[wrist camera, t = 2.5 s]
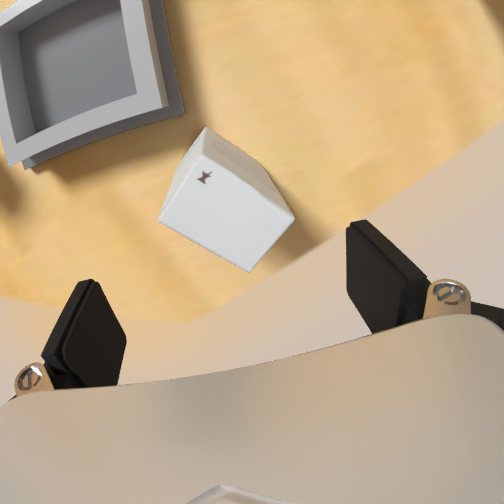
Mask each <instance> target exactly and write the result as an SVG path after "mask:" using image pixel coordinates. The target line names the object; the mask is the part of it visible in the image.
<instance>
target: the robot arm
mask: <svg viewBox="0 0 504 504" xmlns="http://www.w3.org/2000/svg"><path fill="white" fill-rule="evenodd" d="M346 261H347V262H346V263H347V286H346V287H347V293H348V295H349V297H350V299H351V300H352V302H353V303H354V305H355V307H356V308H357V309H358V311H359V313H360V314H361V316H362V318H363V319H364V321H365V323H366V324H367V326H368V327H369V329H370V331H371V332H372V334H371V335H367V336H364V337H361V338H358V339H355V340H351V341H348V342H344V343H341V344H337V345H334V346H330V347H326V348H323V349H319V350H315V351H311V352H307V353H303V354H299V355H296V356H291V357H287V358H283V359H279V360H274V361H270V362H265V363H261V364H256V365H251V366H246V367H242V368H237V369H231V370H226V371H221V372H215V373H209V374H203V375H197V376H190V377H184V378H177V379H170V380H162V381H154V382H146V383H136V384H126V385H117V384H118V379H119V374H120V369H121V365H122V360H123V355H124V351H125V347H126V342H127V341H126V335H125V333H124V331H123V329H122V327H121V326H120V324H119V322H118V320H117V318H116V316H115V314H114V312H113V310H112V308H111V306H110V304H109V302H108V300H107V298H106V296H105V294H104V292H103V290H102V288H101V286H100V284H99V283H98V282H95V281H94V280H93V279H88V280H84V281H80V282H78V283H77V285H76V287H75V289H74V290H73V292H72V294H71V296H70V298H69V299H68V301H67V303H66V305H65V307H64V309H63V311H62V313H61V315H60V317H59V319H58V321H57V323H56V325H55V327H54V329H53V331H52V333H51V335H50V337H49V339H48V341H47V343H46V345H45V347H44V350H43V352H42V354H41V357H42V358H43V359H44V361H45V363H44V365H43V364H41V363H32V364H30V365H28V366H26V367H25V368H24V369H22V370H21V371H20V373H19V374H18V375H17V377H16V379H15V384H14V386H15V391H16V395H15V396H14V397H13V398H12V399H10V400H9V401H8V402H6V403H5V404H3V405H2V406H1V407H0V504H504V309H502V308H498V307H493V306H489V305H485V304H480V303H475V302H471V296H470V293H469V291H468V289H467V288H466V287H465V286H464V285H463V284H461V283H459V282H457V281H454V280H450V279H441V280H437V281H435V282H433V283H431V282H430V281H429V280H428V279H427V276H426V275H425V274H424V273H423V272H422V271H421V270H420V269H419V268H418V267H417V266H416V265H415V264H414V263H413V262H412V261H411V260H410V259H409V258H408V257H407V256H406V255H404V254H403V253H402V252H401V251H400V250H399V249H398V248H397V247H396V246H395V245H394V244H393V243H392V242H391V241H390V240H388V239H387V238H386V237H385V236H384V235H383V234H382V233H381V232H380V231H378V230H377V229H376V228H375V227H374V226H373V225H372V224H371V223H369V222H368V221H367V220H360V221H355V222H351V223H350V227H347V228H346Z"/></svg>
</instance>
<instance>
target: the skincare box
mask: <svg viewBox="0 0 504 504" xmlns="http://www.w3.org/2000/svg"><path fill="white" fill-rule="evenodd" d="M158 221H159V222H160V223H162V224H164V225H165V226H167V227H169V228H170V229H172V230H174V231H176V232H177V233H179V234H181V235H183V236H184V237H186V238H188V239H190V240H191V241H193V242H195V243H197V244H198V245H200V246H202V247H204V248H206V249H207V250H209V251H211V252H213V253H215V254H217V255H218V256H220V257H222V258H224V259H226V260H227V261H229V262H231V263H233V264H234V265H236V266H238V267H240V268H241V269H243V270H245V271H246V272H248V273H249V272H251V271H252V269H253V268H254V267H255V266H256V265H257V263H258V262H259V261H260V260H261V259H262V258H263V257H264V256H265V254H266V253H267V252H268V251H269V250H270V249H271V248H272V246H273V245H274V244H275V243H276V242H277V241H278V240H279V238H280V237H281V236H282V235H283V234H284V233H285V231H286V230H287V229H288V228H289V227H290V226H291V225H292V223H293V222H294V221H295V217H294V216H293V214H292V212H291V211H290V209H289V208H288V206H287V204H286V202H285V201H284V199H283V198H282V196H281V194H280V193H279V191H278V190H277V188H276V187H275V185H274V183H273V182H272V180H271V179H270V177H269V176H268V174H267V173H266V171H265V169H264V168H263V166H262V165H261V163H259V162H258V161H256V160H255V159H254V158H252V157H251V156H249V155H248V154H247V153H245V152H244V151H242V150H241V149H239V148H238V147H237V146H235V145H234V144H232V143H231V142H229V141H228V140H226V139H225V138H223V137H222V136H220V135H219V134H217V133H216V132H214V131H213V130H211V129H210V128H208V127H207V126H206V127H205V128H204V129H203V130H202V132H201V133H200V134H199V136H198V137H197V138H196V140H195V141H194V143H193V144H192V145H191V147H190V148H189V150H188V151H187V153H186V154H185V156H184V157H183V159H182V160H181V162H180V163H179V165H178V168H177V170H176V172H175V175H174V178H173V180H172V183H171V185H170V188H169V190H168V193H167V196H166V198H165V201H164V204H163V207H162V209H161V212H160V214H159V218H158Z"/></svg>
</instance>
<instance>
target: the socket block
mask: <svg viewBox="0 0 504 504" xmlns="http://www.w3.org/2000/svg"><path fill="white" fill-rule="evenodd" d="M184 114H185V111H184V106H183V101H182V97H181V92H180V87H179V82H178V77H177V72H176V67H175V62H174V57H173V52H172V47H171V42H170V37H169V31H168V26H167V21H166V15H165V9H164V4H163V0H18V1H17V2H15V3H14V4H12V5H11V6H9V7H8V8H6V9H5V10H3V11H2V12H0V136H1V140H2V144H3V148H4V152H5V155H6V159H7V162H8V166H9V167H10V166H12V165H14V164H16V163H18V162H20V161H22V163H23V167H24V170H26V169H29V168H31V167H33V166H35V165H37V164H40V163H42V162H44V161H46V160H49V159H51V158H53V157H56V156H58V155H60V154H63V153H65V152H68V151H70V150H73V149H75V148H78V147H81V146H83V145H86V144H89V143H91V142H94V141H97V140H100V139H103V138H106V137H108V136H111V135H114V134H117V133H121V132H124V131H127V130H130V129H133V128H137V127H140V126H143V125H147V124H150V123H154V122H157V121H161V120H165V119H168V118H172V117H176V116H180V115H184Z"/></svg>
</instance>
